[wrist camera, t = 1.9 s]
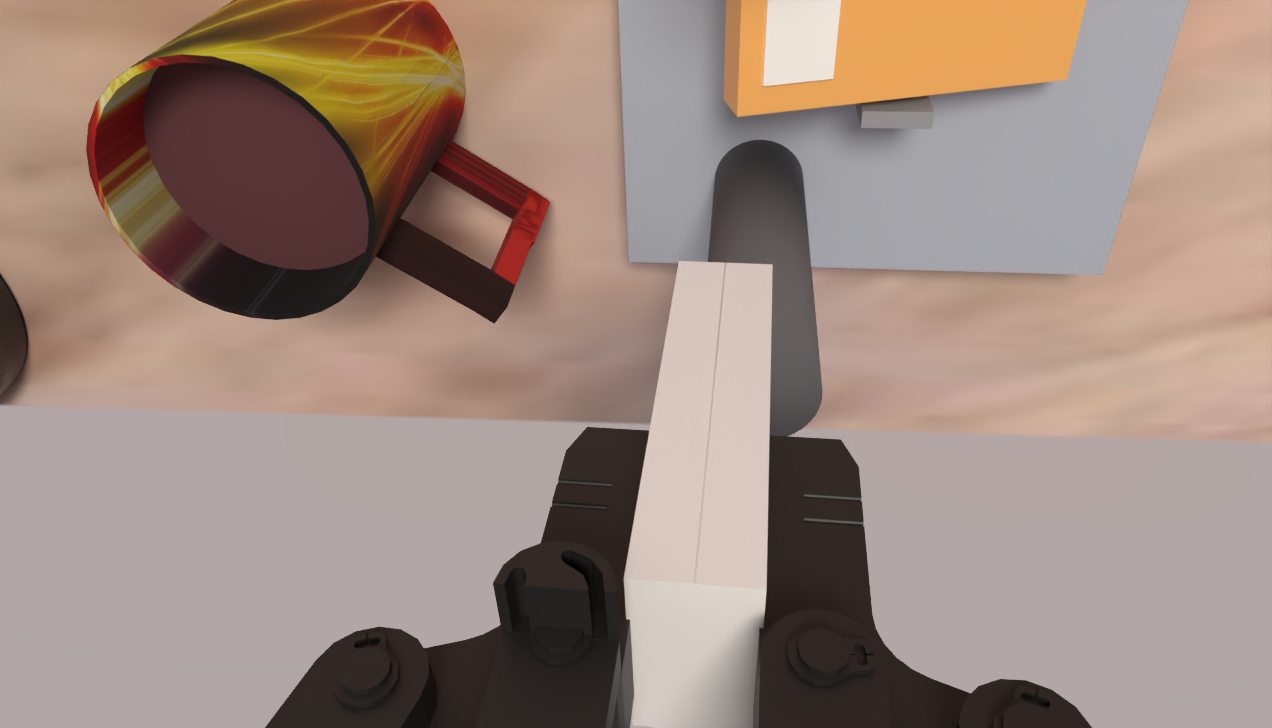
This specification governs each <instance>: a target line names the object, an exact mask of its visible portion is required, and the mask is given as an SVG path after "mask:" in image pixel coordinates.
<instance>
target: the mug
mask: <svg viewBox="0 0 1272 728" xmlns="http://www.w3.org/2000/svg"><path fill="white" fill-rule="evenodd" d="M465 92H466V89H465V76H464V68H463V64H462V60H461V57H460V53H459V50H458V47H457V44H456V42H455V40H454V38H453V36H452V34H451V32H450V30H449V28H448V26H447V24H446V23H445V21H444V20H443V19H442V17H441V16H440V14H439V13H438V11H437V10H436V9H435V7H434V6H433V5H432V4H431V3H430V2H429V1H428V0H233V1H232V2H230V3H229V4H227V5H226V6H224V7H223V8H221V9H219V10H218V11H216V12H215V13H213V14H212V15H210V16H209V17H207V18H206V19H204V20H203V21H201V22H199V23H198V24H196V25H195V26H193V27H192V28H190V29H189V30H187V31H186V32H184V33H183V34H181V35H179V36H178V37H176V38H175V39H173V40H172V41H170V42H169V43H167V44H166V45H164V46H163V47H161V48H159V49H158V50H156V51H155V52H153V53H152V54H150V55H149V56H147V57H146V58H144V59H142V60H141V61H139V62H138V63H136V64H135V65H133V66H132V67H130V68H129V69H127V70H126V71H125V72H124V73H122V74H121V75H120V76H118V77H117V78H116V79H115V80H113V81H112V82H111V83H110V84H109V85H108V87H107V88H106V89H105V91H104V92H103V94H102V95H101V96H100V98H99V99H98V101H97V102H96V105H95V107H94V110H93V113H92V116H91V119H90V122H89V124H88V135H87V147H86V151H87V158H88V165H89V172H90V177H91V179H92V182H93V185H94V188H95V191H96V194H97V197H98V200H99V202H100V204H101V205H102V207H103V209H104V211H105V213H106V215H107V216H108V218H109V220H110V222H111V224H112V225H113V227H114V228H115V229H116V231H117V232H118V233H119V235H120V236H121V237H122V239H123V240H124V241H125V242H126V244H127V245H128V246H129V248H130V249H131V250H132V251H133V252H134V253H135V254H136V255H137V256H138V257H139V258H140V259H141V260H142V261H143V262H144V263H145V264H146V265H147V266H148V267H149V268H150V269H151V270H153V271H154V272H155V273H157V274H158V275H159V276H161V277H162V278H163V279H165V280H166V281H167V282H169V283H170V284H171V285H173V286H174V287H176V288H177V289H179V290H181V291H183V292H184V293H186V294H188V295H190V296H191V297H193V298H195V299H197V300H199V301H201V302H203V303H206V304H208V305H211V306H213V307H216V308H218V309H221V310H223V311H226V312H230V313H234V314H238V315H242V316H247V317H251V318H262V319H273V320H279V319H290V318H300V317H304V316H307V315H311V314H314V313H318V312H321V311H323V310H325V309H327V308H329V307H331V306H332V305H334V304H336V303H338V302H340V301H341V300H342V299H343V298H344V297H346V296H347V295H348V294H349V293H350V292H351V291H352V290H353V289H354V288H355V287H356V286H357V285H358V283H359V282H360V280H361V278H362V277H363V275H364V274H365V272H366V271H367V269H368V268H369V266H370V264H371V263H372V261H373V260H374V258H375V257H378V258H380V259H382V260H383V261H385V262H387V263H389V264H391V265H392V266H394V267H396V268H398V269H400V270H401V271H403V272H405V273H407V274H408V275H410V276H412V277H414V278H416V279H417V280H419V281H421V282H423V283H425V284H426V285H428V286H430V287H432V288H434V289H435V290H437V291H439V292H441V293H443V294H444V295H446V296H448V297H450V298H452V299H453V300H455V301H457V302H459V303H461V304H462V305H464V306H466V307H468V308H469V309H471V310H473V311H475V312H476V313H478V314H480V315H481V316H483V317H484V318H486V319H488V320H489V321H491V322H492V323H495V322H496V321H497V319H498V318H499V317H500V316H501V314H502V313H503V312H504V310H505V309H506V308H507V306H508V303H509V300H510V298H511V295H512V293H513V290H514V287H515V285H516V282H517V280H518V277H519V274H520V272H521V269H522V267H523V264H524V262H525V259H526V256H527V254H528V251H529V249H530V248H531V246H532V245H533V244H534V242H535V240H536V237H537V234H538V232H539V229H540V227H541V224H542V221H543V219H544V216H545V213H546V211H547V208H548V206H549V203H550V202H549V201H548V200H547V199H545V198H544V197H542V196H541V195H540V194H538V193H537V192H535V191H534V190H532V189H530V188H528V187H527V186H525V185H523V184H522V183H520V182H518V181H517V180H515V179H513V178H512V177H510V176H509V175H507V174H505V173H504V172H502V171H500V170H499V169H497V168H495V167H494V166H492V165H490V164H489V163H487V162H485V161H484V160H482V159H480V158H479V157H477V156H475V155H474V154H472V153H471V152H469V151H467V150H466V149H464V148H462V147H461V146H459V145H457V144H456V143H454V142H452V141H451V140H450V139H451V138H452V136H453V135H454V133H455V131H456V130H457V127H458V125H459V122H460V119H461V116H462V113H463V109H464V101H465ZM430 171H432V172H434V173H436V174H437V175H439V176H441V177H442V178H444V179H446V180H447V181H449V182H451V183H453V184H454V185H456V186H458V187H459V188H461V189H463V190H464V191H466V192H468V193H469V194H471V195H473V196H474V197H476V198H478V199H480V200H481V201H483V202H485V203H486V204H488V205H490V206H491V207H493V208H495V209H496V210H498V211H500V212H501V213H503V214H505V215H507V216H508V217H510V218H512V219H513V220H512V223H511V225H510V227H509V229H508V232H507V234H506V236H505V239H504V241H503V243H502V245H501V248H500V250H499V252H498V255H497V257H496V259H495V262H494V264H493V266H492V268H491V270H490V269H488V268H487V267H485V266H483V265H481V264H480V263H478V262H476V261H474V260H473V259H471V258H469V257H467V256H466V255H464V254H462V253H460V252H459V251H457V250H455V249H453V248H452V247H450V246H448V245H446V244H445V243H443V242H441V241H439V240H438V239H436V238H434V237H432V236H431V235H429V234H427V233H426V232H424V231H422V230H420V229H419V228H417V227H415V226H413V225H412V224H410V223H408V222H406V221H405V220H403V219H401V218H400V217H401V216H402V214H403V213H404V211H405V210H406V208H407V207H408V205H409V203H410V202H411V200H412V199H413V197H414V196H415V194H416V192H417V191H418V189H419V188H420V186H421V185H422V183H423V182H424V180H425V178H426V177H427V175H428V174H429V172H430Z"/></svg>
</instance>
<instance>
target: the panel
mask: <svg viewBox="0 0 1272 728" xmlns="http://www.w3.org/2000/svg"><path fill="white" fill-rule="evenodd" d="M1188 1H1189V0H1087V1H1086V5H1085V9H1084V13H1083V17H1082V21H1081V25H1080V29H1079V33H1078V37H1077V41H1076V45H1075V49H1074V53H1073V57H1072V61H1071V65H1070V69H1069V73H1068V77H1067V80H1060V81H1051V82H1042V83H1034V84H1025V85H1016V86H1007V87H998V88H989V89H980V90H971V91H963V92H954V93H945V94H936V95H927V96H918V97H909V98H901V99H892V100H883V101H874V102H865V103H856V104H847V105H838V106H830V107H821V108H812V109H803V110H794V111H785V112H776V113H768V114H759V115H750V116H741V117H737V116H736V115H735V114H734V112H733V111H732V110H731V109H730V107H729V106H728V105H727V104H726V102H725V101H724V100H723V96H724V60H725V24H726V0H618V8H619V33H620V58H621V84H622V109H623V135H624V160H625V186H626V211H627V236H628V262H644V263H679V261H694V262H708V254H709V242H710V230H711V218H712V205H713V193H714V181H715V173H716V169H717V167H718V165H719V163H720V161H721V159H722V158H723V157H724V155H725V154H726V153H727V152H728V151H730V150H731V149H732V148H734V147H735V146H737V145H739V144H741V143H744V142H747V141H751V140H769V141H773V142H776V143H779V144H781V145H783V146H785V147H786V148H788V149H789V150H790V151H791V152H792V153H793V154H794V155H795V156H796V158H797V159H798V161H799V163H800V165H801V168H802V171H803V180H804V191H805V202H806V213H807V225H808V236H809V247H810V258H811V267H824V268H860V269H896V270H932V271H968V272H1004V273H1040V274H1076V275H1102V274H1103V271H1104V268H1105V265H1106V262H1107V259H1108V255H1109V252H1110V249H1111V246H1112V243H1113V239H1114V236H1115V233H1116V230H1117V227H1118V223H1119V220H1120V217H1121V214H1122V211H1123V208H1124V204H1125V201H1126V198H1127V195H1128V192H1129V188H1130V185H1131V182H1132V179H1133V176H1134V173H1135V169H1136V166H1137V163H1138V160H1139V157H1140V153H1141V150H1142V147H1143V144H1144V141H1145V138H1146V134H1147V131H1148V128H1149V125H1150V122H1151V118H1152V115H1153V112H1154V109H1155V106H1156V102H1157V99H1158V96H1159V93H1160V90H1161V87H1162V83H1163V80H1164V77H1165V74H1166V71H1167V67H1168V64H1169V61H1170V58H1171V55H1172V52H1173V48H1174V45H1175V42H1176V39H1177V36H1178V32H1179V29H1180V26H1181V23H1182V20H1183V17H1184V13H1185V10H1186V7H1187V4H1188Z"/></svg>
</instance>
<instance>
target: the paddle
mask: <svg viewBox="0 0 1272 728" xmlns="http://www.w3.org/2000/svg"><path fill="white" fill-rule="evenodd" d="M1086 1H1087V0H726V24H725V60H724V96H723V100H724V101H725V102H726V104H727V105H728V106H729V107H730V109H731V110H732V111H733V112H734V114H735V115H736V116H737V117H741V116H750V115H759V114H768V113H776V112H785V111H794V110H803V109H812V108H821V107H830V106H838V105H847V104H856V103H865V102H874V101H883V100H892V99H901V98H909V97H918V96H927V95H936V94H945V93H954V92H963V91H971V90H980V89H989V88H998V87H1007V86H1016V85H1025V84H1034V83H1042V82H1051V81H1060V80H1067V77H1068V73H1069V69H1070V65H1071V61H1072V57H1073V53H1074V49H1075V45H1076V41H1077V37H1078V33H1079V29H1080V25H1081V21H1082V17H1083V13H1084V9H1085V5H1086Z"/></svg>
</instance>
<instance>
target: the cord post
mask: <svg viewBox="0 0 1272 728" xmlns="http://www.w3.org/2000/svg"><path fill="white" fill-rule="evenodd" d="M708 262H721V263H748V264H773V272H772V326H771V380H770V433H769V436H786V437H787V436H789V435H791V434H794V433H795V432H797V431H799V430H801V429H802V428H803V427H805V426H806V425H807V424H808V423H809V422H810V421H811V420H812V419H813V417H814V416H815V415H816V413H817V411H818V409H819V407H820V404H821V400H822V383H821V371H820V360H819V349H818V337H817V326H816V315H815V304H814V292H813V281H812V270H811V258H810V247H809V236H808V225H807V213H806V202H805V191H804V180H803V171H802V168H801V165H800V163H799V161H798V159H797V158H796V156H795V155H794V154H793V153H792V152H791V151H790V150H789V149H788V148H786V147H785V146H783V145H781V144H779V143H776V142H773V141H769V140H751V141H747V142H744V143H741V144H739V145H737V146H735V147H734V148H732V149H731V150H730V151H728V152H727V153H726V154H725V155H724V157H723V158H722V159H721V161H720V163H719V165H718V167H717V169H716V173H715V181H714V193H713V205H712V218H711V230H710V242H709V254H708Z"/></svg>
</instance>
